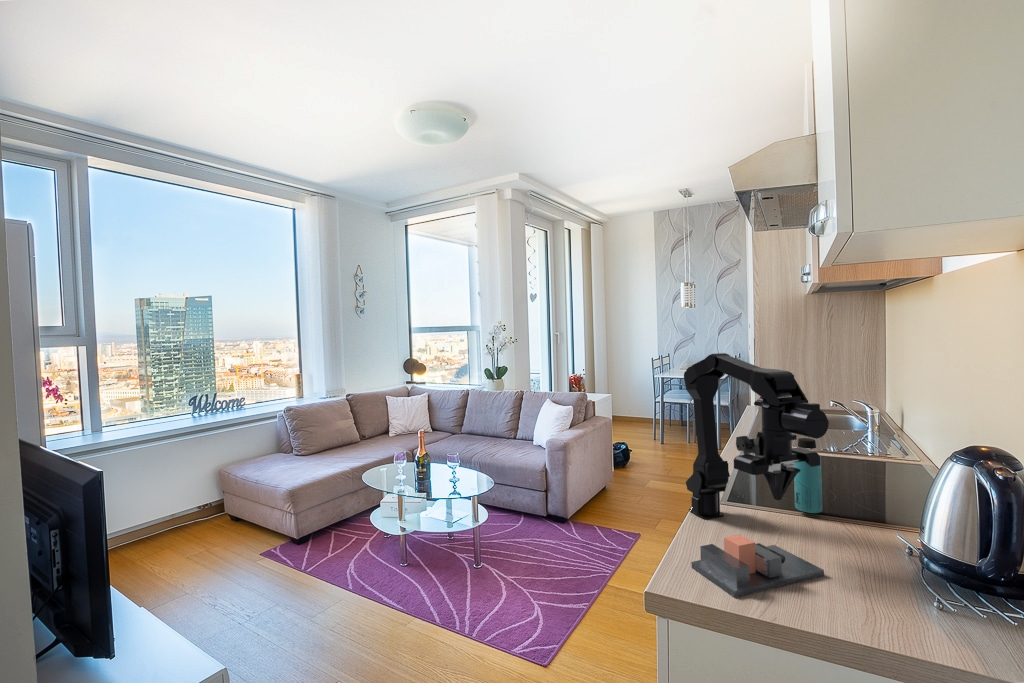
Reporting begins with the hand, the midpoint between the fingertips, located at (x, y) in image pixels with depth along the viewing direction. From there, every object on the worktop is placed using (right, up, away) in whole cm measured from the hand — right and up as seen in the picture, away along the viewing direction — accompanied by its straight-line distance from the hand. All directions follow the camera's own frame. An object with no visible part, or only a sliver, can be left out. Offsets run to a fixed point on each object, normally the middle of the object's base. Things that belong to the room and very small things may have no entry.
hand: (777, 499), depth 105 cm
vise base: (-8, -12, -7) cm, 16 cm away
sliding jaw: (-7, -11, -7) cm, 15 cm away
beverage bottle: (+20, -11, +21) cm, 31 cm away
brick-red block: (-12, -11, -8) cm, 19 cm away
